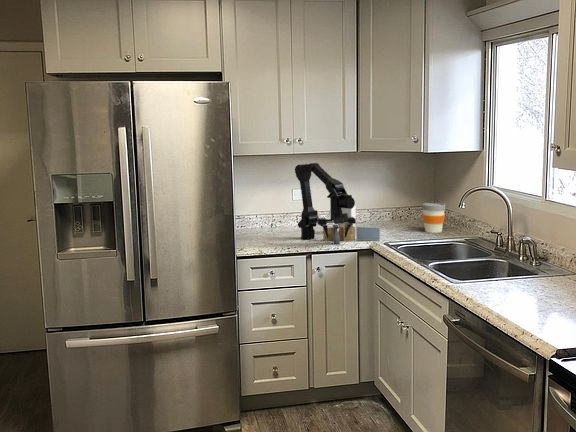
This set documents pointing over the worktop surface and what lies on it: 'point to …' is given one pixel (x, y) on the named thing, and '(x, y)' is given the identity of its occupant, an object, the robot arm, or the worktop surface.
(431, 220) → the reusable coffee cup
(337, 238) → the hinge pin
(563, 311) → the worktop surface
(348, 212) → the skincare box
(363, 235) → the swing leaf
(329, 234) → the knuckle leaf
